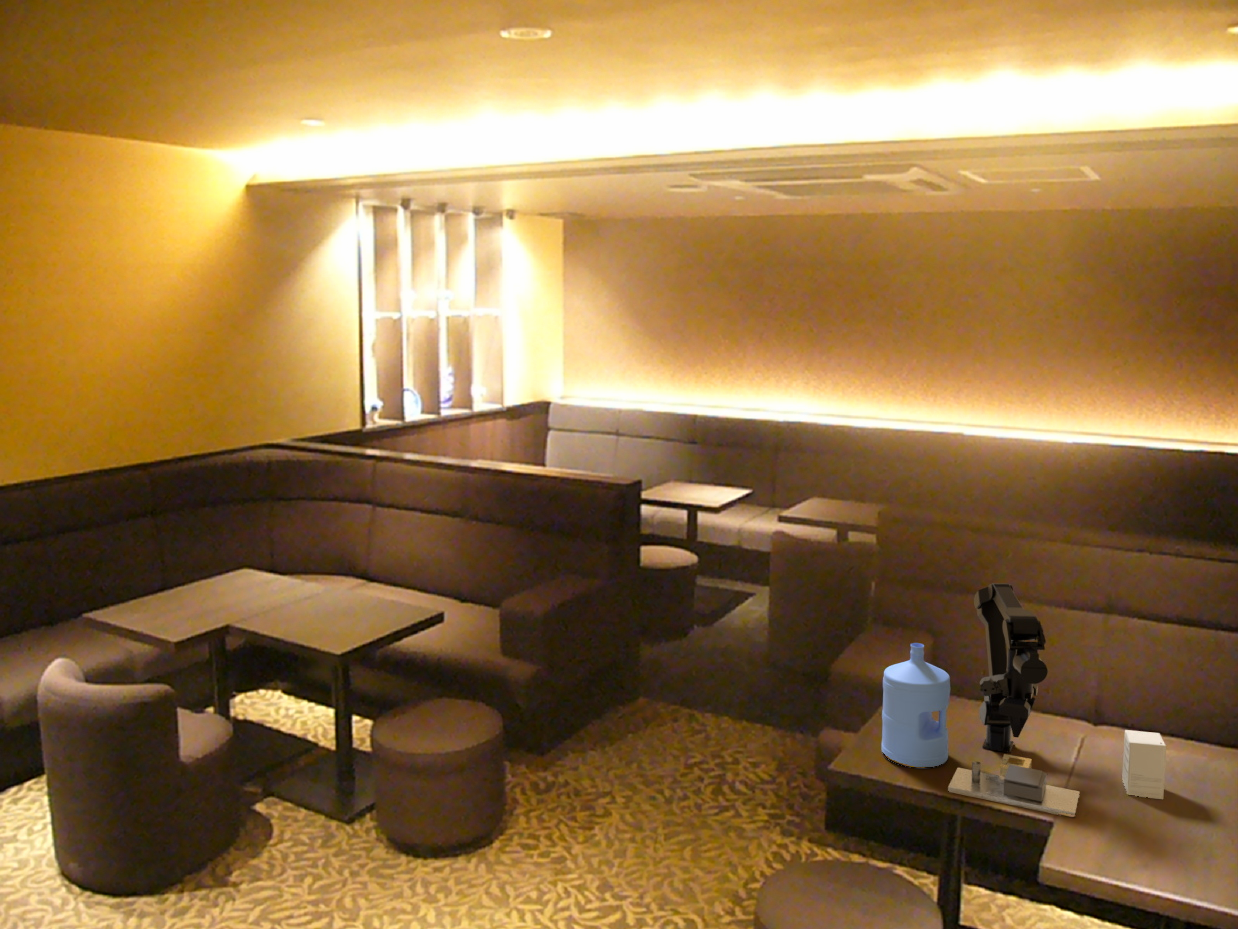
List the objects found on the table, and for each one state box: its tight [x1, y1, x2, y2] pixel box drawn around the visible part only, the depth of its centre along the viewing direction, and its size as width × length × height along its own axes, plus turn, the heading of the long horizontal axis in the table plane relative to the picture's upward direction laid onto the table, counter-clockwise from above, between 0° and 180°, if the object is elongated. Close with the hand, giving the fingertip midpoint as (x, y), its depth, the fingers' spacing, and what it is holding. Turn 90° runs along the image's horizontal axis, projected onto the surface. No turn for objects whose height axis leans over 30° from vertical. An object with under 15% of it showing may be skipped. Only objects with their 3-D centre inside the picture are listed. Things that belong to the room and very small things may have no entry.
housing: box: [1004, 765, 1048, 802], centre depth 218 cm, size 8×8×4 cm
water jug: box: [881, 642, 951, 768], centre depth 238 cm, size 16×16×28 cm
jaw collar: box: [999, 753, 1033, 777], centre depth 229 cm, size 6×6×3 cm
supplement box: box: [1121, 729, 1167, 800], centre depth 219 cm, size 7×7×13 cm
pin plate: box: [947, 760, 1081, 816], centre depth 219 cm, size 11×26×6 cm, turn 61°
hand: (1017, 733), depth 228 cm, fingers open, 5 cm apart
